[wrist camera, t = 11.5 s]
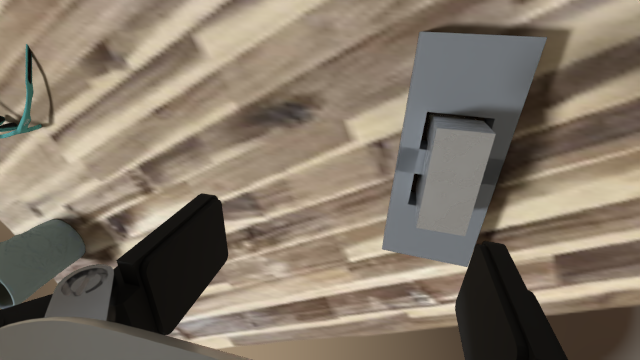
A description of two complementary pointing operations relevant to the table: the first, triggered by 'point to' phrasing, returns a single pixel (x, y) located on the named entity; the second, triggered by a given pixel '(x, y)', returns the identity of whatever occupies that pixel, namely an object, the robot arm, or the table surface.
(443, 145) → the grey concrete brick
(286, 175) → the table surface
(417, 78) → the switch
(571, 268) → the table surface
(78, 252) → the teal cup
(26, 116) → the sunglasses
